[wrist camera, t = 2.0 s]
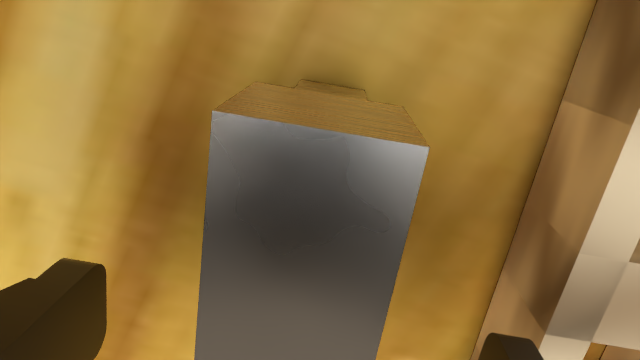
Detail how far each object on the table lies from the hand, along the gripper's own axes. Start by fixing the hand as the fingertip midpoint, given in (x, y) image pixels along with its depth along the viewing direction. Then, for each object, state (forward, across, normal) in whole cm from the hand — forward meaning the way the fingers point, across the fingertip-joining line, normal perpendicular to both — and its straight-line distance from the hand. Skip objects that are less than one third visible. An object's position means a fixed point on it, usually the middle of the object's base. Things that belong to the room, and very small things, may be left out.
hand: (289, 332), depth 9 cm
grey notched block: (+6, 0, 0) cm, 6 cm away
